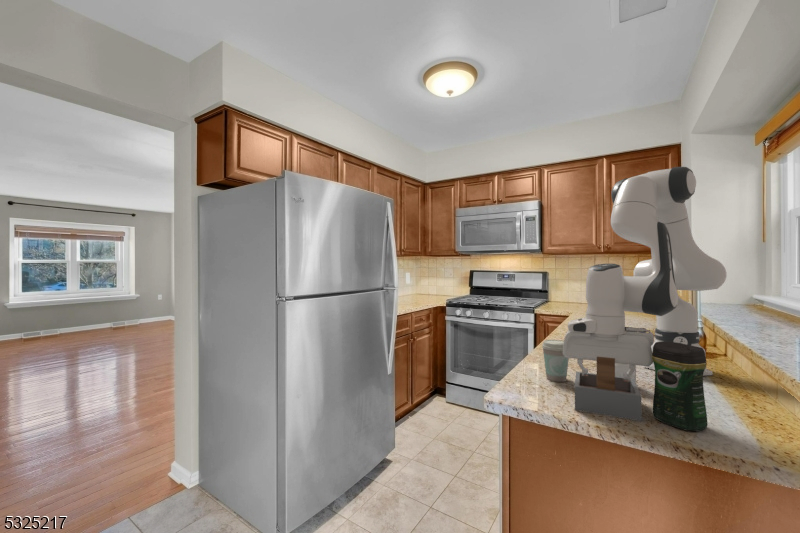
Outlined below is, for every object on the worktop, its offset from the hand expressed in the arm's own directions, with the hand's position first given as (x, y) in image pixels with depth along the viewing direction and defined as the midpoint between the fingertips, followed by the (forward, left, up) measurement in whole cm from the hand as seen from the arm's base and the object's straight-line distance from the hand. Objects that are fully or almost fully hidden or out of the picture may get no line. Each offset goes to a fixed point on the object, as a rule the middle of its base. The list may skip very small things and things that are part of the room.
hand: (605, 378), depth 91 cm
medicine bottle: (-19, +4, -7) cm, 21 cm away
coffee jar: (+4, +14, -7) cm, 17 cm away
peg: (0, 0, -7) cm, 7 cm away
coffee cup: (-17, -13, -7) cm, 23 cm away
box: (0, 0, -7) cm, 7 cm away
